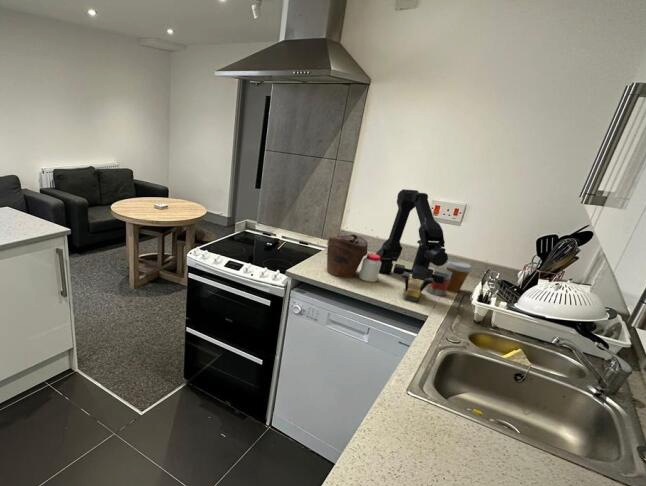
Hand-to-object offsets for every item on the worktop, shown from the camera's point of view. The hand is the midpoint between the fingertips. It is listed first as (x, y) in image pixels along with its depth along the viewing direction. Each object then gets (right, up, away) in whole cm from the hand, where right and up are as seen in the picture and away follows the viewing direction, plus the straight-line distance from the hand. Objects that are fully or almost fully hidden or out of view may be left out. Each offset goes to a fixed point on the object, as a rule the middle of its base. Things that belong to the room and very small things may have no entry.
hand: (412, 292), depth 163 cm
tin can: (+13, 0, +6) cm, 15 cm away
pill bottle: (-12, +6, +15) cm, 21 cm away
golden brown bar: (0, -1, 0) cm, 1 cm away
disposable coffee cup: (+23, +1, +11) cm, 25 cm away
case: (-23, +9, +20) cm, 32 cm away
